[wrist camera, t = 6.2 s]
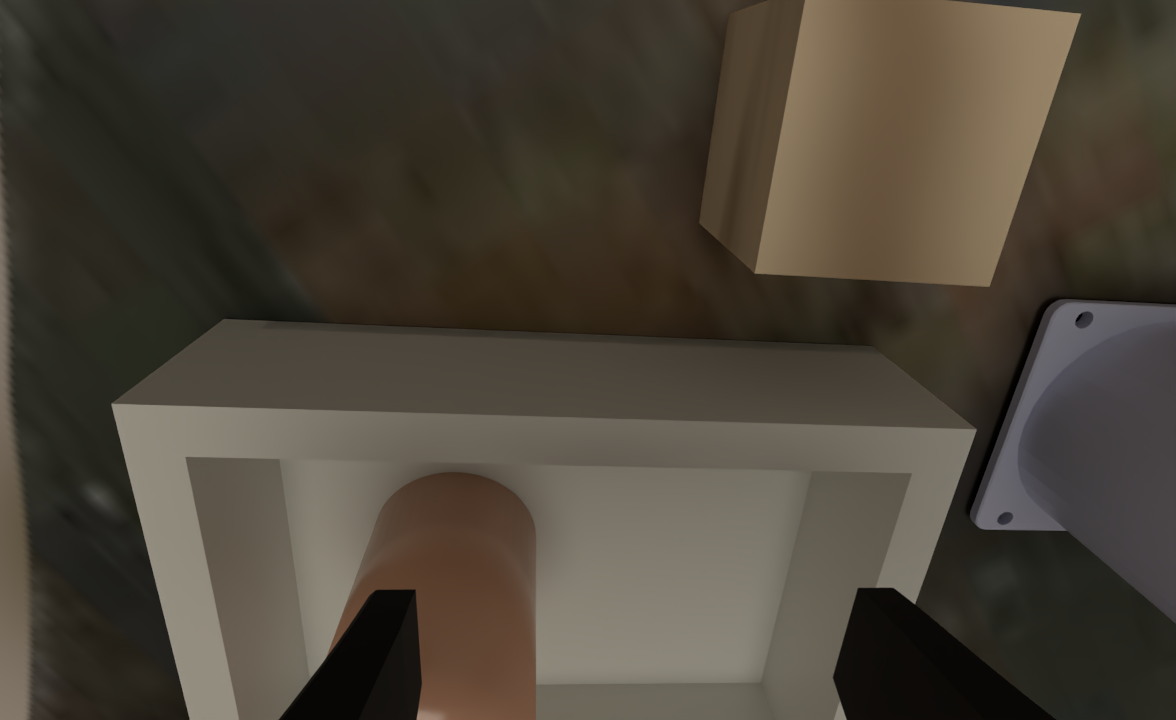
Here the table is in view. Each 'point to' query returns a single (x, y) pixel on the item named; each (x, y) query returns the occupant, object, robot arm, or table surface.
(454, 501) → the cylinder
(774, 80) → the cube
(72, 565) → the table surface
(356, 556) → the tote
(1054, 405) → the robot arm
